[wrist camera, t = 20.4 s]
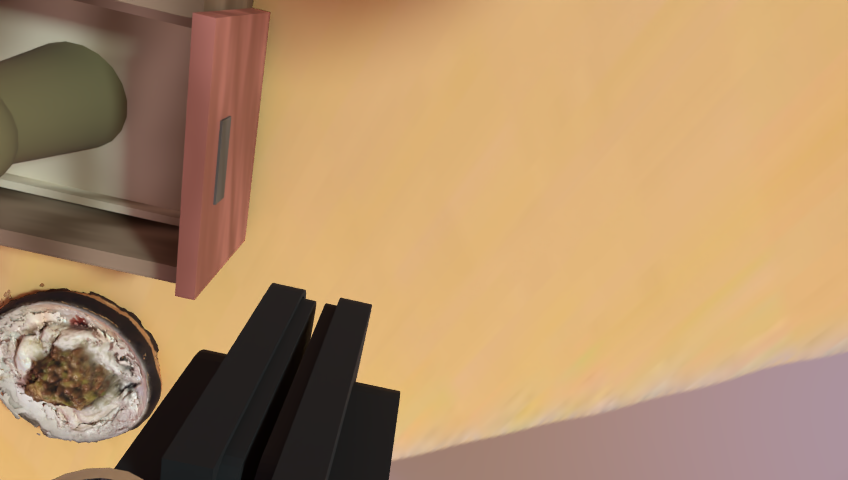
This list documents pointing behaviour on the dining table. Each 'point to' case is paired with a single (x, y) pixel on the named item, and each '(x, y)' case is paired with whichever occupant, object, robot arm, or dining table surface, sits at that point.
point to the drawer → (159, 120)
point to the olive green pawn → (57, 103)
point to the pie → (77, 365)
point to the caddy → (96, 228)
